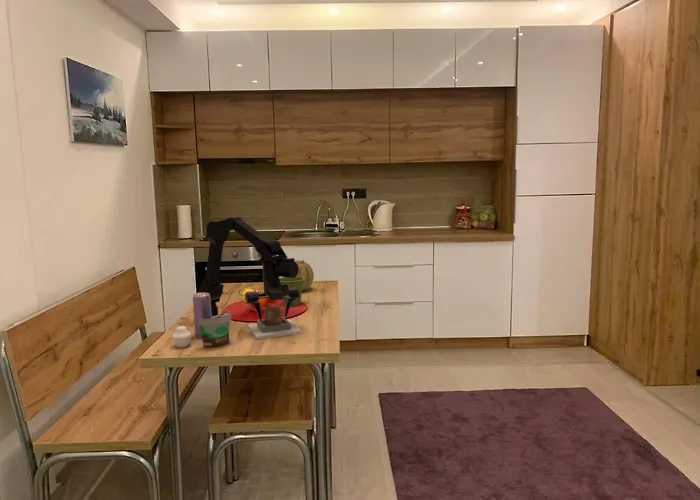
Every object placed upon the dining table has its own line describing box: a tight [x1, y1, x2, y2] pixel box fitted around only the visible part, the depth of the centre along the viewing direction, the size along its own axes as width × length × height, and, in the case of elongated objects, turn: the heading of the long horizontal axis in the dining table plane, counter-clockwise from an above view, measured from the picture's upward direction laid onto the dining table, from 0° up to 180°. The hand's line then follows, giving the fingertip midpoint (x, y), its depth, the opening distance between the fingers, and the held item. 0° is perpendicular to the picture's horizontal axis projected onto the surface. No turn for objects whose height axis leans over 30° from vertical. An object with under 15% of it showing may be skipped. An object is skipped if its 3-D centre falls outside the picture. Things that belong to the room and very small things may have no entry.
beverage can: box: [192, 292, 212, 339], centre depth 185 cm, size 6×6×15 cm
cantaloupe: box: [295, 259, 315, 292], centre depth 253 cm, size 15×15×15 cm
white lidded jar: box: [171, 325, 192, 348], centre depth 176 cm, size 6×6×7 cm
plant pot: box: [279, 276, 305, 307], centre depth 228 cm, size 12×12×11 cm
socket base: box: [247, 316, 303, 340], centre depth 191 cm, size 16×16×3 cm
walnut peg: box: [263, 305, 283, 326], centre depth 191 cm, size 5×5×7 cm
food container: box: [198, 309, 232, 349], centre depth 176 cm, size 12×6×10 cm, turn 148°
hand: (273, 318), depth 191 cm, fingers open, 9 cm apart
